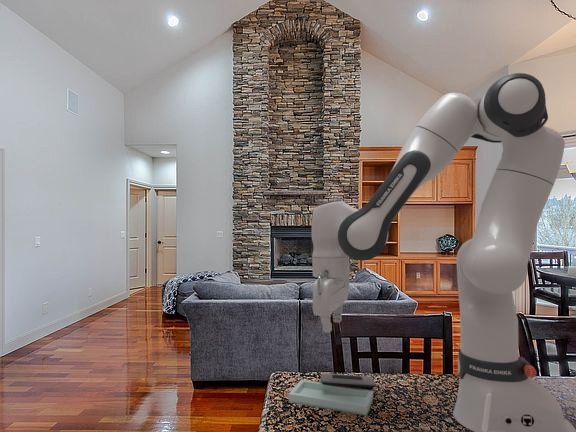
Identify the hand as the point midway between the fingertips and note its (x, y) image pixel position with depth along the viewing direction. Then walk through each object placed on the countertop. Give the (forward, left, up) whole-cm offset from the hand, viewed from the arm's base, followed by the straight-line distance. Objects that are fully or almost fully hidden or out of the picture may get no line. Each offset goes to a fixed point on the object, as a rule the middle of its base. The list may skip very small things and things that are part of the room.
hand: (332, 326), depth 93 cm
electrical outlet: (0, -12, -18) cm, 22 cm away
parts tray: (0, 0, -18) cm, 18 cm away
